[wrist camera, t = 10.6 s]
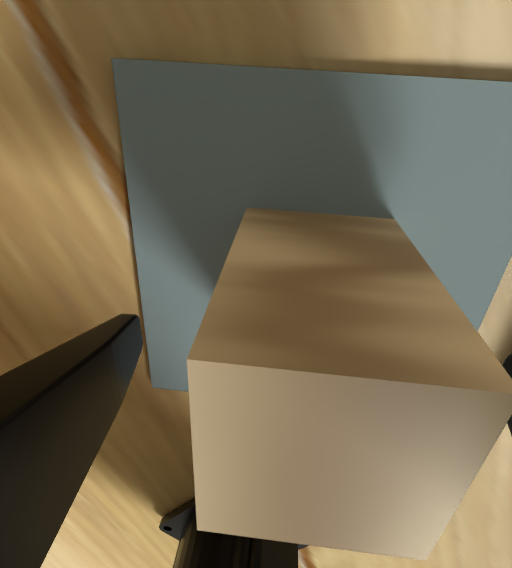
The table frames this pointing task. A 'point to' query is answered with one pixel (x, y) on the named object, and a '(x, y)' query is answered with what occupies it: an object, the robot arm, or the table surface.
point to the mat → (305, 175)
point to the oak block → (337, 389)
